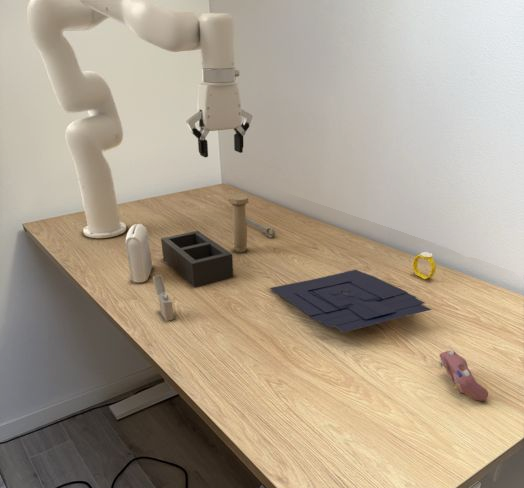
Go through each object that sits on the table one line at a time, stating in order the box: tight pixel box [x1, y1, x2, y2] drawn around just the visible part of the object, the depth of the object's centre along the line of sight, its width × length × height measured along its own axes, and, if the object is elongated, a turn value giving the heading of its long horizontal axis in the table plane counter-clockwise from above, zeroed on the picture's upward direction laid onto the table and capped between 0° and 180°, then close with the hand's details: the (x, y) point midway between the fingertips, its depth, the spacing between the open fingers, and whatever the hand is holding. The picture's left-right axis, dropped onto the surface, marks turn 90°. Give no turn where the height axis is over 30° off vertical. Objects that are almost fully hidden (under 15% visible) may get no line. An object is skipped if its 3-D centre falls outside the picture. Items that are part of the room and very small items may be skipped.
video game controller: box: [438, 349, 489, 402], centre depth 86 cm, size 10×5×7 cm, turn 5°
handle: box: [228, 192, 250, 253], centre depth 136 cm, size 5×6×15 cm
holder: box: [160, 230, 234, 288], centre depth 130 cm, size 20×11×6 cm, turn 31°
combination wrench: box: [246, 216, 276, 238], centre depth 154 cm, size 4×1×20 cm
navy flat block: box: [269, 269, 432, 333], centre depth 112 cm, size 24×30×4 cm
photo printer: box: [125, 223, 153, 284], centre depth 125 cm, size 10×4×12 cm, turn 2°
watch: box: [412, 251, 437, 280], centre depth 123 cm, size 6×3×6 cm, turn 33°
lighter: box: [152, 274, 175, 322], centre depth 109 cm, size 7×2×8 cm, turn 26°
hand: (221, 153), depth 128 cm, fingers open, 9 cm apart
